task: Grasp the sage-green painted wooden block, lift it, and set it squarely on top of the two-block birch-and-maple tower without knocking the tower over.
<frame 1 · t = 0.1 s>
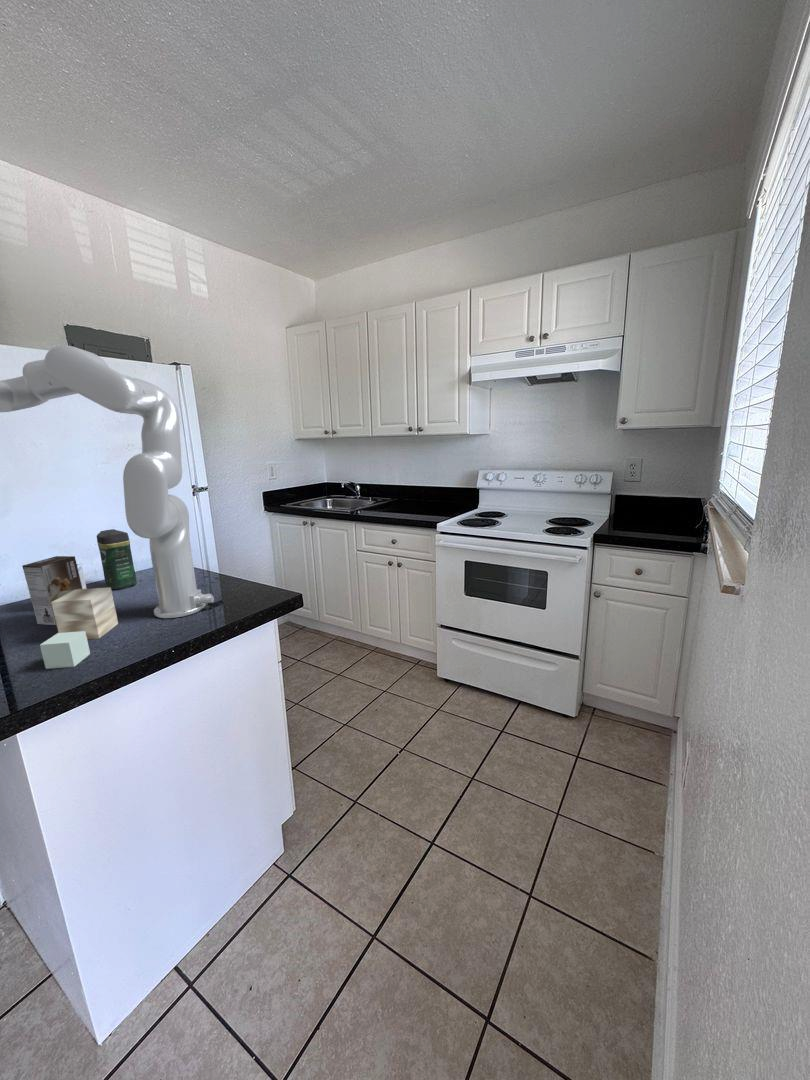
coffee jar: (122, 586, 140), on the worktop
maple top block: (86, 613, 104), point 5 cm above the worktop, touching birch base block
light bulb box: (64, 604, 126), on the worktop
birch base block: (90, 632, 105), on the worktop, touching maple top block
sage block: (68, 661, 91), on the worktop
coffee box: (63, 618, 115), on the worktop
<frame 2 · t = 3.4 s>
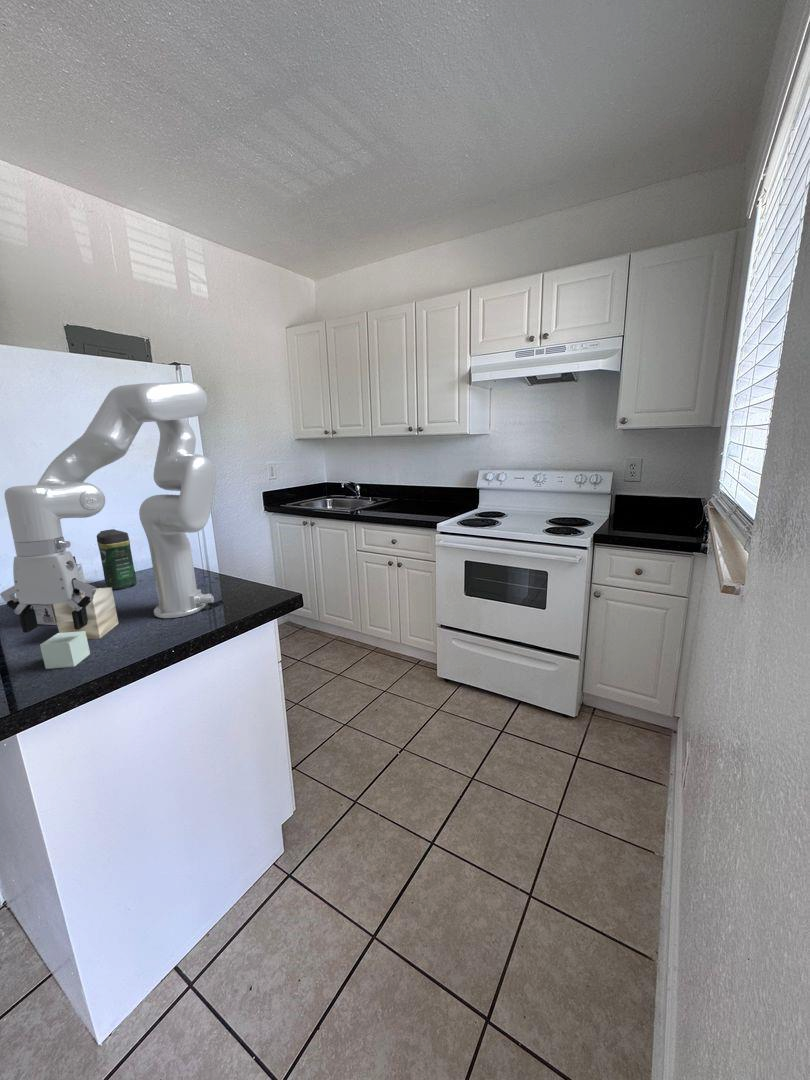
hand: (56, 628, 89), 8 cm above the worktop, fingers open, 9 cm apart
nothing on the worktop moved.
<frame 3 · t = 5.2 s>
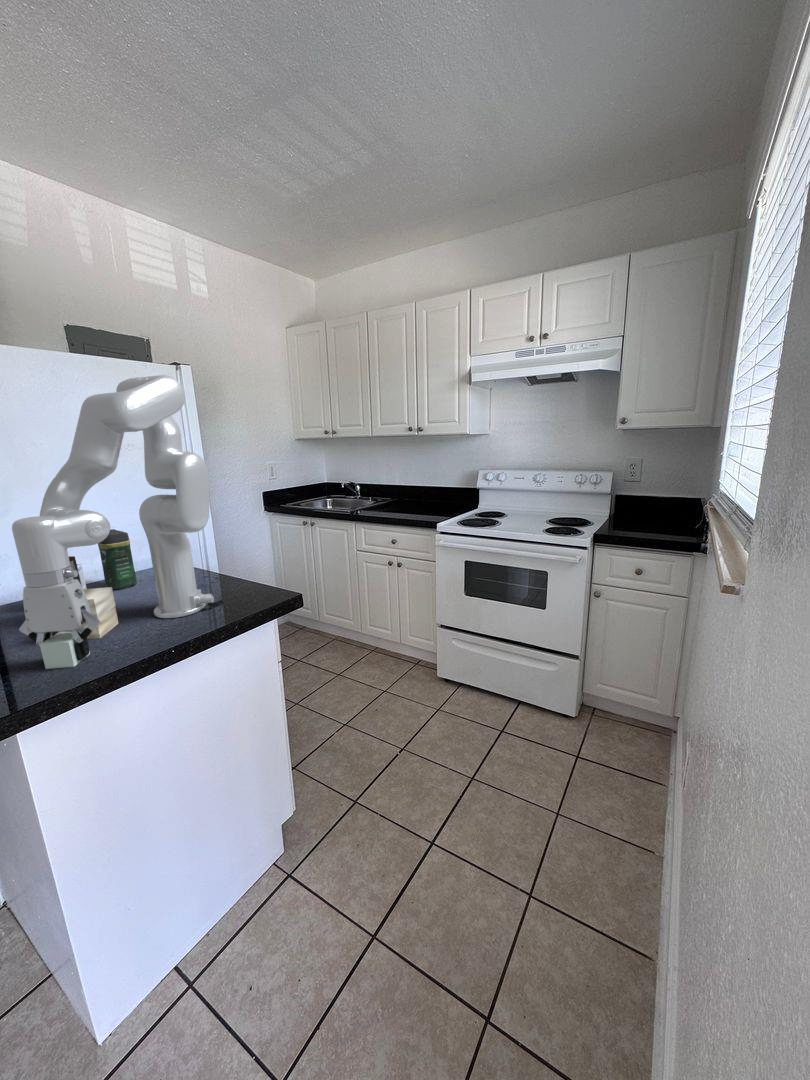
hand: (67, 657, 91), 1 cm above the worktop, fingers closed on sage block, 5 cm apart
sage block: (68, 661, 91), on the worktop, touching gripper
everything else where it was.
when the fingers open (12 cm above the worktop, at t = 12.1 s): sage block drops 2 cm, point 10 cm above the worktop.
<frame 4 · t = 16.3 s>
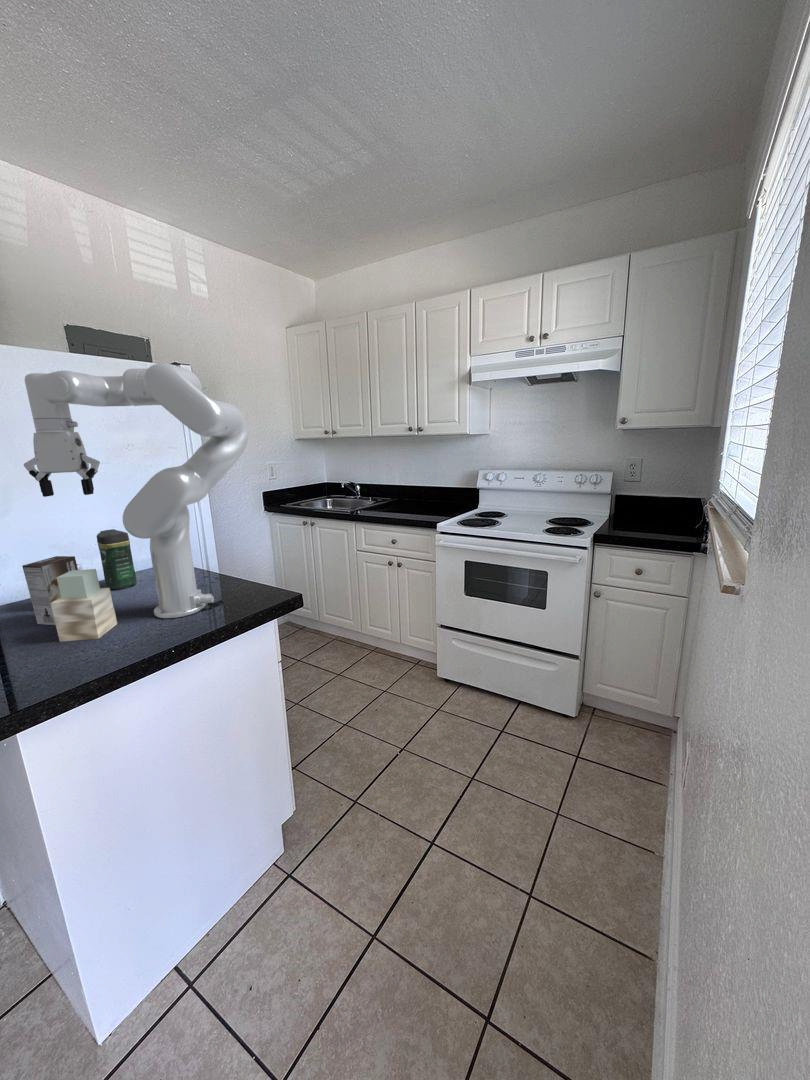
hand: (68, 495, 111), 32 cm above the worktop, fingers open, 9 cm apart
sage block: (81, 594, 103), point 10 cm above the worktop
everything else where it was.
at the end: sage block 0.0 cm off-centre on the maple top block, point 5.0 cm above the maple top block's base; maple top block 0.0 cm off-centre on the birch base block, point 5.0 cm above the birch base block's base; sage block tilted 0° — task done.
